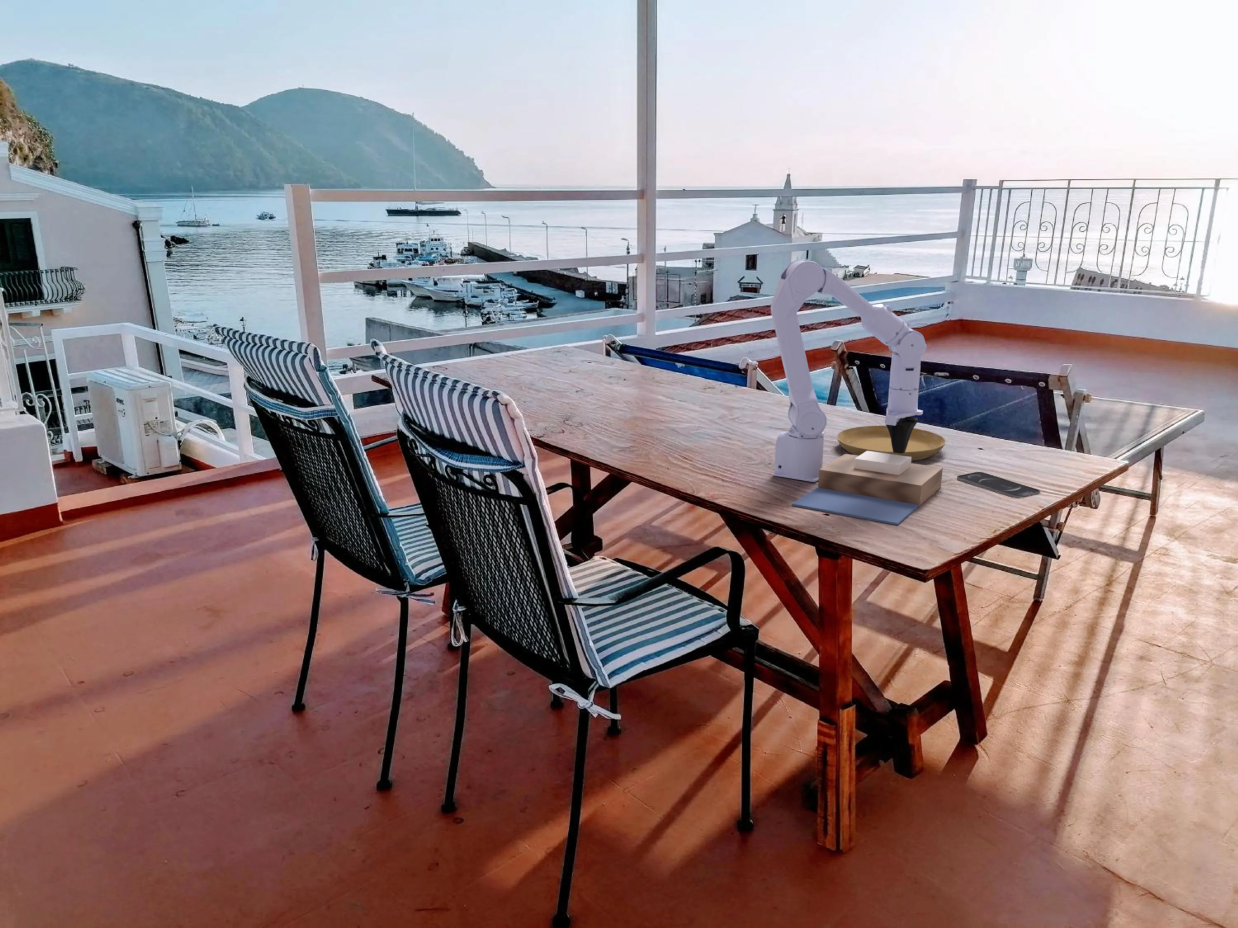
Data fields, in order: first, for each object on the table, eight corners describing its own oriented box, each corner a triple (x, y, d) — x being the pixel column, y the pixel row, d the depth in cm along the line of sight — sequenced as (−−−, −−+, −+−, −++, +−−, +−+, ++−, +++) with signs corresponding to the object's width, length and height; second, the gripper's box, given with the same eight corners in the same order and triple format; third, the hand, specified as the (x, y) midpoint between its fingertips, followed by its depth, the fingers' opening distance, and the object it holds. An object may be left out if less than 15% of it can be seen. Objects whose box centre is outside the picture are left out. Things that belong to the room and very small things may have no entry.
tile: (854, 468, 167) (854, 458, 166) (866, 460, 172) (867, 450, 172) (899, 475, 162) (900, 465, 161) (910, 466, 167) (911, 456, 167)
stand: (818, 488, 167) (818, 469, 166) (844, 471, 178) (845, 453, 177) (919, 505, 156) (921, 485, 155) (940, 487, 167) (942, 467, 166)
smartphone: (1016, 496, 159) (954, 476, 172) (1016, 501, 160) (953, 480, 172) (1043, 490, 162) (980, 471, 175) (1042, 495, 163) (979, 475, 176)
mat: (791, 505, 158) (791, 503, 158) (817, 489, 167) (817, 487, 167) (897, 525, 146) (898, 523, 146) (918, 506, 156) (918, 504, 156)
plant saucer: (880, 470, 180) (882, 455, 179) (815, 445, 202) (816, 431, 201) (968, 457, 189) (969, 443, 188) (896, 434, 210) (897, 421, 209)
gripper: (912, 395, 163) (907, 463, 167) (934, 384, 174) (928, 447, 178) (876, 392, 167) (872, 458, 171) (900, 381, 178) (895, 443, 182)
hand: (899, 452), depth 175 cm, fingers closed
